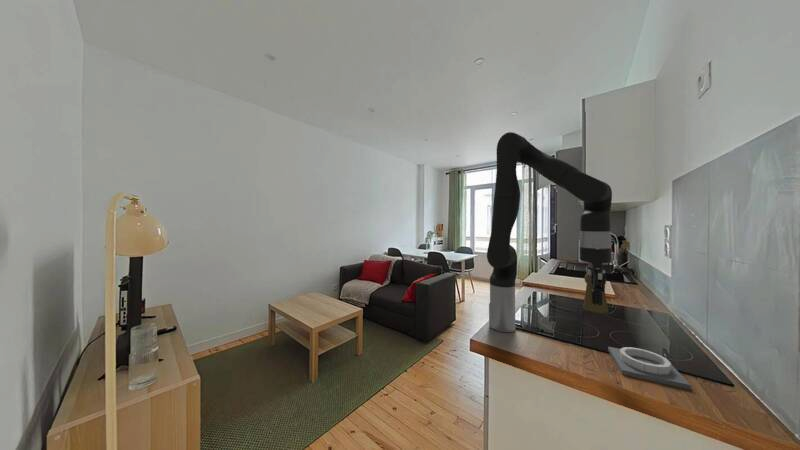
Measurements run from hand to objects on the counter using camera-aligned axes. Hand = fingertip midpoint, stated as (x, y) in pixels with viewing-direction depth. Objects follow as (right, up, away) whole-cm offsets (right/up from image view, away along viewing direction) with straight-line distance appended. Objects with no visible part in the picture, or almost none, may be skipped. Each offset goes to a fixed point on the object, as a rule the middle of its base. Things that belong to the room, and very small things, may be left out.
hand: (595, 302), depth 73 cm
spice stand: (+10, -17, -4) cm, 21 cm away
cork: (0, -3, 0) cm, 3 cm away
